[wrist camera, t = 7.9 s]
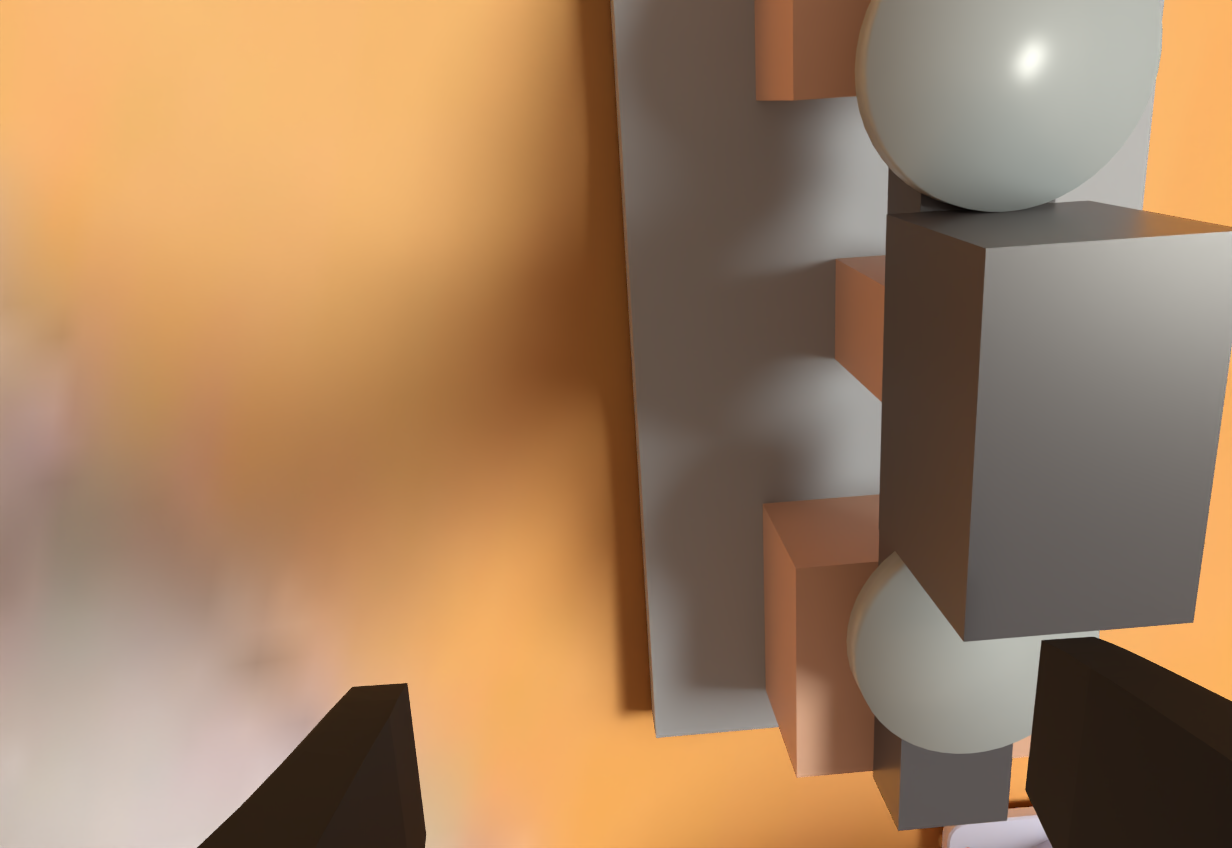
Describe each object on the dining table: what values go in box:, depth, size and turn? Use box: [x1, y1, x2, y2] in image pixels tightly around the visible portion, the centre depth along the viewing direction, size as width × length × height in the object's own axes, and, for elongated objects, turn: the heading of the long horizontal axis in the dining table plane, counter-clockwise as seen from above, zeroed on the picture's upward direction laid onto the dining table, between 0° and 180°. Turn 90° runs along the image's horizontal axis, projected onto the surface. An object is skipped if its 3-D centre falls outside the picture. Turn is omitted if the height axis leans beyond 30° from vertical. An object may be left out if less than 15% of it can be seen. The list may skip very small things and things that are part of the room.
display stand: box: [610, 0, 1164, 777], centre depth 18 cm, size 19×10×5 cm, turn 3°
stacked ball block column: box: [846, 0, 1232, 831], centre depth 14 cm, size 17×4×5 cm, turn 3°
